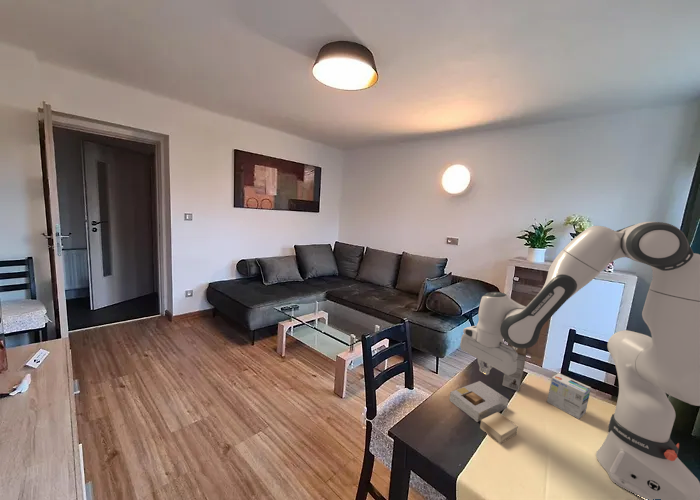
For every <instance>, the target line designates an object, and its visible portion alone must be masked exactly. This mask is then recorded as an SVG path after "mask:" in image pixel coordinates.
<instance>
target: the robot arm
mask: <svg viewBox="0 0 700 500" xmlns="http://www.w3.org/2000/svg"><path fill="white" fill-rule="evenodd" d="M621 258H627V259H630V260H632V261H633V262H637V263H640V264H641V263H642V264H645V265H647V266H650V268H651V270H652V279H651V282H650V285H649V287H648V288H649V289H648V292H647V294H646V297H645V302H644V305H643V309H642V312H641V316H642V320H643V321H644V323H645V324H646V325H647V328H648V329H649V331H650V335H651V336H649V335H647V334H643V333H641V332H635V331H633V330H632V331H631V330H626V329H624V330H618V331H616V332H615V333H613V334H612V335H611V336H610V337H609V338H608V340H607V345H606V346H607V350H608V352H609V354H610V356H611V357H612V359H613V362H614V365H615V369H616V373H617V379H618V396H617V402H616V405H615V409H614V413H612V415H611V417H610V419H609V423H608V427H607V428H608V429H607V432H608V433H607V435H606V438H605V439H604V441H603V443H602V444H601V446H600V447H599V448H598V450H597V451H596V453H595V456H596V459H597V460H598V463H599V465H600V466H601V467H602V468H603V469H604V470H605V471H606V472H607V474H608V476H609V478H610V480H611V481H612V482H613V483H614V484H615V483H616V484H615V485H617V486H618V487H621V488H622V487H623V488H622V489H624V488H625V489H627V490H628V491H627V490H626V491H627V492H629V491H630V492H629V493H631V492H632V493H634V494H636V495H639V496H640V497H643V498H645V499H649V500H653V499H654V500H655V499H661V500H700V481H699V479H698V477H696V476H695V475H694V474H693V472H692V471H691V470H690V469H689V468H688V467H687V466H686V465H685V464H684V462H682V460H680V459H679V457H678V455H679V450H680V443H679V442H678V443H677V444H675V443H674V441H673V440H672V439H671V434H672V430H673V426H674V423H675V420H676V411H675V407H674V406H673V404H672V403H671V401H670V399H669V398H668V396H670V397H673V398H675V399H678V400H680V401H681V402H684V403H687V404H689V405H691V406H695V407H696V406H697V407H700V254H699V253H696V252H695V253H694V251H693V249H692V247H691V246H690V244H689V241H688V239H687V237H686V235H685V233H684V232H683V231H682V230H681V229H680V228H679V227H677V226H675V225H674V224H672V223H671V224H670V223H667V222H662V221H642V222H639V223H636V224H632V225H629V226H627V227H624V228H621V229H618V230H614V229H612V228H610V227H606V226H602V225H591V226H589V227H587V228H586V229H584V230H583V231H581V233H579V234H578V235H576V236H575V237H574V238H573V239H571V241H570V242H569V243H568V244H566V245H565V247H564V248H563V249H562V250H561V251H560V252H559V253H558V254H557V255H556V257H555V258H554V259H553V261H552V263H551V265H550V266H549V269H548V272H547V276H546V280H545V283H544V284H543V287H542V289H541V290H540V291H539V292H538V293H537V295H536V296H535V297H534V298H533V299H532V300H531V301H530V302H529V303H528V304H527V305H526V306H525V305H523V304H520V303H519V302H517V301H515V300H513V299H512V298H511V297H509V296H508V295H507V293H504V292H500V291H491V292H487V293H485V294H484V295H482V296H481V299H480V303H479V308H478V313H477V314H478V315H477V317H478V322H477V324H476V325H472V326H467V327H465V328H463V330H462V332H463V334H462V335H461V338H460V342H459V343H460V344H459V345H460V349H461V351H462V352H465V353H467V354H469V355H470V356H472V357H474V358H476V359H477V364H478V366H479V368H478V369H479V370H478V371H479V372H481V373H483V374H484V375H485V376H488V375H490V371H491V370H492V369H493V368H494V369H495V370H497V371H499V372H502V373H503V374H504V373H505V374H506V375H512V374H514V373H515V372H516V370H517V357H518V353H517V352H516V351H515V350H514V348H513V347H510V345H512V346H514V347H516V348H523V349H524V348H527V349H529V348H532V347H534V345H536V344H537V342H538V341H539V339H540V335H541V330H543V329H542V328H543V327H544V325H545V324H546V323H547V322H548V321H549V320H550V319H551V317H553V316H554V315H555V313H557V311H559V309H560V308H561V307H562V306H563V305H564V304H565V303H566V302H567V301H568V300H569V299H570V298H572V297H573V296H574V295H575V294H576V293H578V292H579V291H581V289H583V288H584V287H585V286H587V285H588V284H589V283H591V282H592V281H593V280H594V279H595V278H596V277H597V276H599V274H601V272H603V270H604V269H605V268H607V266H609V265H610V264H611V263H613V262H615V261H616V260H618V259H621ZM504 341H505V342H506V343H504ZM485 364H486V366H485ZM667 395H668V396H667ZM625 489H624V490H625ZM632 493H631V494H632ZM634 494H633V495H634ZM636 495H635V496H636Z"/></svg>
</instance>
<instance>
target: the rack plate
mask: <svg viewBox="0 0 700 500" xmlns="http://www.w3.org/2000/svg"><path fill="white" fill-rule="evenodd" d="M472 392H474V393H475V394H477V395H478V396H480V397H481V398H483V400H482V403H480V404H478V405H476V406H475V405H473V404H472V403H471V402H469V401H468V400H467V399H466V395H467V394H469V393H472ZM448 400H449V402H451V403H452V404H453V405H455V406H456V407H457V408H459V409H460V410H461V411H463V412H464V413H465V414H466V415H467V416H468V417H470V418H471V419H472V420H473V421H475V422H476V423H479V422H481V420H482V419H484V418H486V417H488V416H490V415H492V414H494V413H496V412H499V413H500V412H501V411H503V410H506V409H507V408H508V406H509V405H508V404H509V398H507V397H506V396H505V395H502V394H501V393H499V392H498V391H496V390H495V389H493V388H492V387H490V386H488V385H487V384H485V383H484V382H482V381H480V380H478V381H475V382H473V383H470V384H468V385H465V386H463V387H460V388H457V389H454V390H451V391H450V394H449V399H448Z"/></svg>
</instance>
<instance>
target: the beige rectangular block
mask: <svg viewBox="0 0 700 500" xmlns="http://www.w3.org/2000/svg"><path fill="white" fill-rule="evenodd" d="M518 428H519V426H518V425H517V424H515V423H514V422H513V421H512V420H510V418H507V417H506V416H504V415H503V414H501V413H500V412H496V413H494V414H492V415H490V416H488V417H486V418H484V419H482V420H481V421H480V425H479V429H480V430H482V431H483V432H484V433H485V432H486V433H485V434H487V435H488V436H489V437H490V436H491V437H490V438H492V439H493V440H494V441H495V442H497V443H498V444H499V445H500V444H502V443H504V442H506V441H507V440H509V439H511V438H512V437H514V436H516V435H517V432H518Z"/></svg>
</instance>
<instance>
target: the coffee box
mask: <svg viewBox="0 0 700 500" xmlns="http://www.w3.org/2000/svg"><path fill="white" fill-rule="evenodd" d="M509 346H510V347H513V348H514V350H515V351H516V352H517V353H518V357H517V370H516V372H515V373H514V374H512V375H506V374H505V373H503V379H502V386H503V387H505V388H508V389H511V390H513V391H515V392H519V391H520V389H521V384H522V381H523V380H522V379H523V374H524V369H525V365H526V358H527V353H528V348H524V349H523V348H516V347H514V346H512V345H510V344H509Z"/></svg>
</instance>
